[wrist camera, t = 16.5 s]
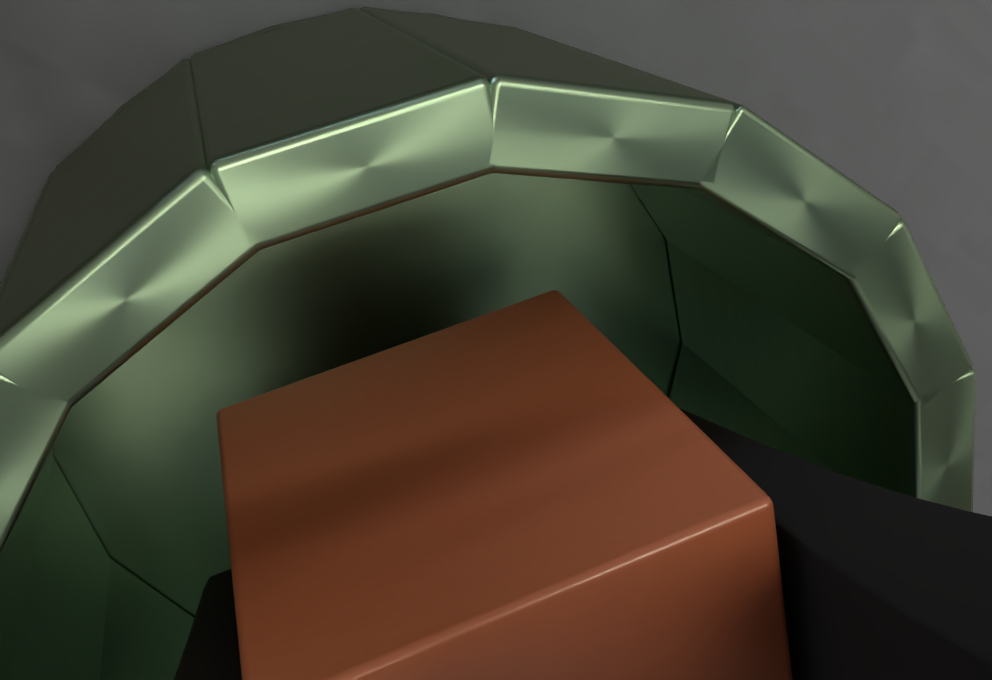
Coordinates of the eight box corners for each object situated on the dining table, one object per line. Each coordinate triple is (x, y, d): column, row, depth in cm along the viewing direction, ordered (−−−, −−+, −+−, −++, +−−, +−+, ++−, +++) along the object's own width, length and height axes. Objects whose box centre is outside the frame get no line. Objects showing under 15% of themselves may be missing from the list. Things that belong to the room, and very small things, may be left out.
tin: (737, 521, 19) (970, 771, 14) (177, 756, 17) (183, 1158, 12) (655, -86, 14) (986, -80, 8) (-179, 155, 12) (-486, 377, 6)
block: (615, 548, 14) (813, 832, 10) (328, 667, 13) (406, 1031, 9) (557, 285, 12) (777, 498, 8) (213, 408, 11) (243, 721, 7)
